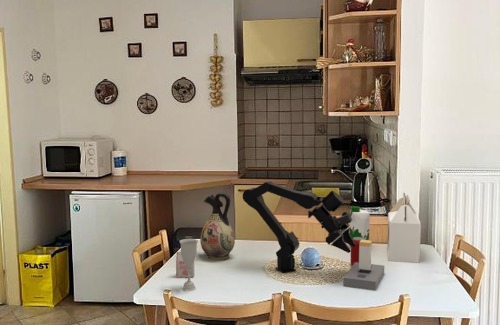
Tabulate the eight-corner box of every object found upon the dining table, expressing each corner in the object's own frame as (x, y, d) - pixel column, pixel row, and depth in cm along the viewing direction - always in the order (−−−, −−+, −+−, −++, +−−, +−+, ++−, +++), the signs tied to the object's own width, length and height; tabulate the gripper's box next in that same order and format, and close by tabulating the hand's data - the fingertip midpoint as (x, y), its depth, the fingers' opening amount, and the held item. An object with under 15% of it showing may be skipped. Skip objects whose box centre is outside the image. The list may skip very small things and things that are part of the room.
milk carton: (348, 245, 266) (349, 205, 264) (366, 245, 266) (367, 205, 264) (351, 250, 257) (352, 208, 255) (370, 250, 257) (371, 208, 255)
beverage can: (366, 268, 228) (367, 240, 227) (350, 267, 230) (351, 239, 228) (366, 264, 235) (367, 237, 234) (350, 263, 236) (351, 236, 235)
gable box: (419, 263, 237) (422, 199, 234) (388, 261, 240) (390, 198, 237) (415, 250, 259) (418, 191, 256) (387, 248, 262) (389, 190, 259)
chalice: (180, 285, 206) (179, 238, 204) (198, 284, 207) (198, 238, 205) (179, 292, 199) (179, 243, 197) (198, 291, 199) (197, 243, 197)
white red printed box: (177, 274, 219) (177, 250, 218) (194, 275, 219) (194, 250, 218) (176, 277, 215) (176, 253, 214) (193, 278, 215) (193, 253, 214)
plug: (358, 268, 212) (359, 241, 211) (360, 265, 216) (361, 239, 215) (369, 269, 211) (369, 242, 209) (370, 266, 214) (371, 240, 213)
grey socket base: (343, 286, 206) (343, 277, 205) (354, 270, 226) (355, 261, 226) (375, 290, 201) (375, 281, 201) (384, 273, 222) (384, 265, 221)
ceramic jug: (194, 260, 239) (193, 192, 236) (209, 251, 254) (209, 187, 250) (229, 264, 233) (229, 195, 230) (243, 255, 247) (243, 190, 244)
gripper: (334, 210, 206) (363, 242, 203) (345, 202, 223) (371, 231, 220) (314, 228, 210) (341, 260, 207) (326, 219, 227) (351, 248, 224)
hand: (352, 249), depth 214 cm, fingers open, 9 cm apart
